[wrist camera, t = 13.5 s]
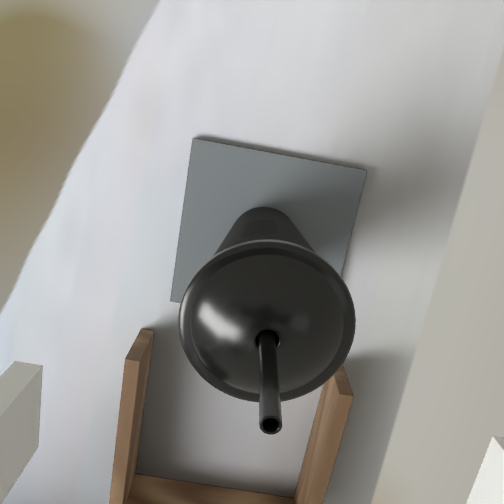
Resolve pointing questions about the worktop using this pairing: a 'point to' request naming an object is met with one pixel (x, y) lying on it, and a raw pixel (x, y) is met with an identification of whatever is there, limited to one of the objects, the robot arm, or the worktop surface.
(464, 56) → the worktop surface
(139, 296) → the worktop surface
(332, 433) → the open wooden frame
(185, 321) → the drinking cup
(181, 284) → the mat
